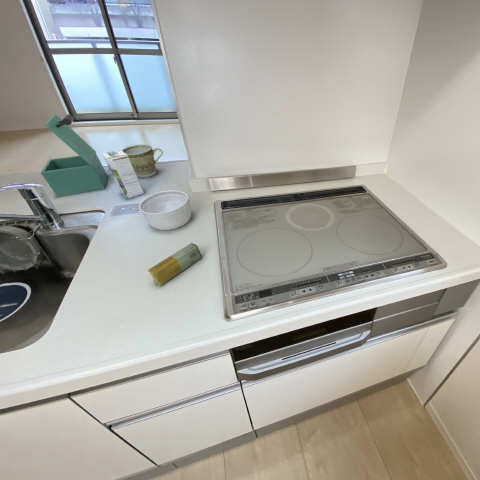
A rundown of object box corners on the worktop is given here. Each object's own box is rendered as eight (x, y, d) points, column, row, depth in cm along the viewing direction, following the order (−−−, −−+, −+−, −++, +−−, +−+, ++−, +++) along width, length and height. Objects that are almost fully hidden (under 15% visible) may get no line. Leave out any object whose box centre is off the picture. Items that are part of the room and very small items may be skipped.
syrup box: (121, 193, 92) (100, 153, 82) (139, 187, 95) (120, 148, 86) (127, 199, 89) (106, 158, 80) (145, 193, 92) (127, 153, 83)
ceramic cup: (131, 181, 99) (119, 155, 92) (133, 170, 105) (122, 146, 99) (169, 175, 103) (160, 151, 97) (169, 165, 110) (160, 142, 103)
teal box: (57, 196, 89) (40, 172, 83) (64, 182, 96) (49, 159, 91) (104, 188, 94) (91, 165, 88) (107, 175, 102) (95, 153, 96)
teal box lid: (44, 125, 77) (61, 116, 78) (53, 115, 85) (68, 107, 86) (89, 165, 88) (104, 157, 88) (94, 152, 96) (107, 146, 96)
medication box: (196, 254, 69) (191, 242, 67) (203, 257, 68) (198, 245, 66) (153, 282, 61) (146, 269, 59) (160, 286, 60) (153, 273, 58)
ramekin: (145, 237, 74) (135, 217, 69) (150, 212, 83) (141, 193, 79) (195, 228, 78) (188, 208, 73) (194, 205, 87) (188, 187, 83)
